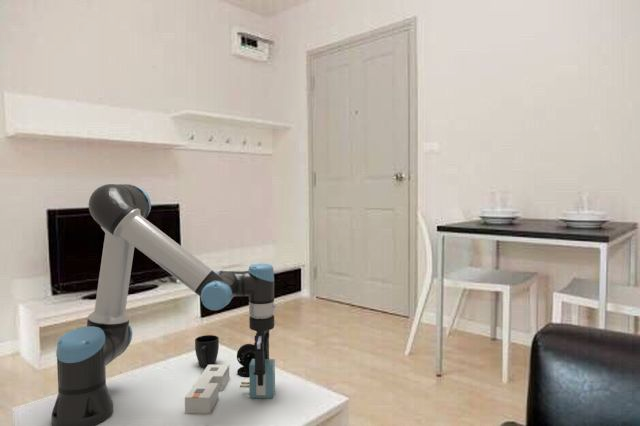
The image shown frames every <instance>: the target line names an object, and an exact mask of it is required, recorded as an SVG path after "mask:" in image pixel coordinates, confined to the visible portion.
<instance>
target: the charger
mask: <svg viewBox="0 0 640 426" xmlns="http://www.w3.org/2000/svg"><path fill="white" fill-rule="evenodd" d="M254 372H255V359H252V361H251V363H250V365H249V377H248V378H249V381H241V382H240V385H239V388H242V389H244V388H249V399H274V396H275V392H276V359H275V358H269V359H265V373H266V395H256V375H254V374H253V373H254Z"/></svg>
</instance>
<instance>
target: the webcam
mask: <svg viewBox="0 0 640 426" xmlns="http://www.w3.org/2000/svg"><path fill="white" fill-rule="evenodd" d="M236 358H237V362H238V364H240V365H241V367H239V368H238V369H237V373H236V374H237V375H239V376H240V377H246V378H249V365H250V363H251V361H252V359H255V346H254V343H253V344H252V343H246V344H245V343H244V344H243V345H241V346H240V348H238V350H237V352H236Z"/></svg>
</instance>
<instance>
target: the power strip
mask: <svg viewBox="0 0 640 426" xmlns="http://www.w3.org/2000/svg"><path fill="white" fill-rule="evenodd" d="M229 380H230V364H215V365H208V366H207V367H206V368H204V370H203V372H202V373H200V376H199V377H198V378H197V380H196V381H195V382H194V384H193V385H192V387H191V388H190V389H189V391H188V392H187V393H186V395H185V396H184V413H185V414H210V413H211V412H212V410H213V408H214V407H215V405H216V403H217V401H218V400H219V391H224V389H225V387H226V385H227V384H228V381H229ZM217 399H218V400H217Z"/></svg>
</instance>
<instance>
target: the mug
mask: <svg viewBox="0 0 640 426" xmlns="http://www.w3.org/2000/svg"><path fill="white" fill-rule="evenodd" d="M219 339H220V338H219V336H217V335H214V334H209V335H208V334H205V335H201V336H198V337H196V338H195V339H194V349H195V355H196V358H197V359H196V360H197V362H198V365H199V367H201V368H204V369H206V367H207V366H208V365H216V363H217V358H218V355H219V348H220V347H219V346H220V344H219V343H220V342H219V341H220V340H219Z"/></svg>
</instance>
